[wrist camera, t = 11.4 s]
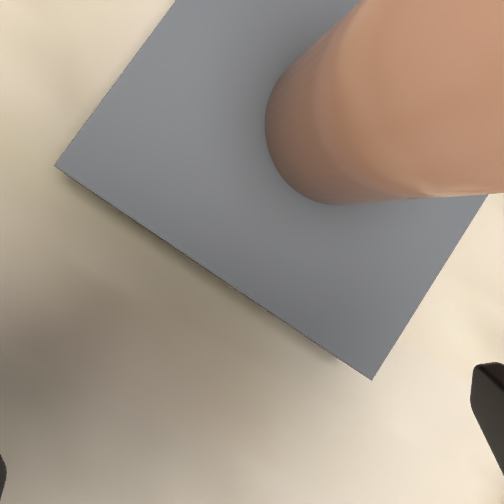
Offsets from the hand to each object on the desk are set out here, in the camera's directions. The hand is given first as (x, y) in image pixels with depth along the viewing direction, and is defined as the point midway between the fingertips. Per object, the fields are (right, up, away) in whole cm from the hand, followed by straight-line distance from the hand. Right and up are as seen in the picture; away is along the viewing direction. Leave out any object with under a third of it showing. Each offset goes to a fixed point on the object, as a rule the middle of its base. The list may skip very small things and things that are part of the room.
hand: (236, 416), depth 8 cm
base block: (+3, +8, +12) cm, 15 cm away
